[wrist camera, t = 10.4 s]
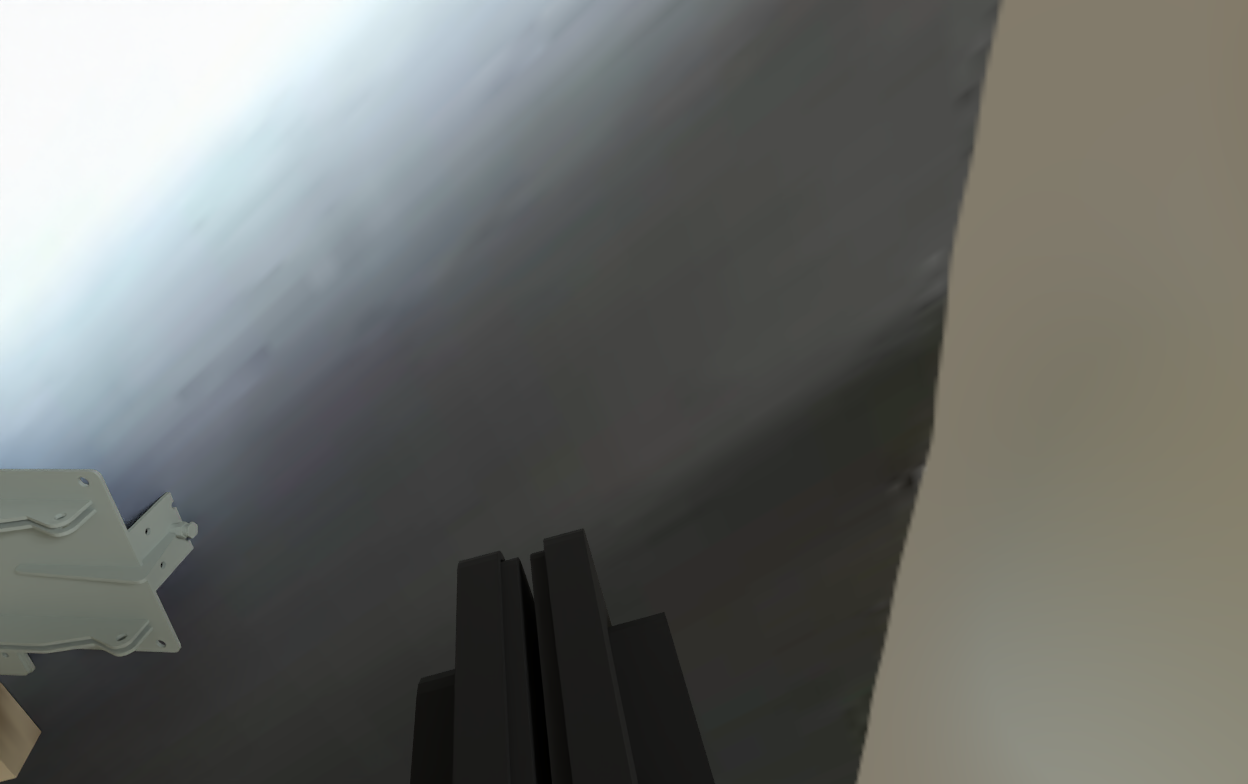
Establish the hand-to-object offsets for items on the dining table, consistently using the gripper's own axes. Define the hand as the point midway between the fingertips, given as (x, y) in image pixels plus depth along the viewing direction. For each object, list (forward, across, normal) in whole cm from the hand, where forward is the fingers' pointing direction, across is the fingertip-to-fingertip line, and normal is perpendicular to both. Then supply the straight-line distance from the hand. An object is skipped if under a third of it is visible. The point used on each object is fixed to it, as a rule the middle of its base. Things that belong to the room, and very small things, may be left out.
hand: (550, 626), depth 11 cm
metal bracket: (+30, +27, +13) cm, 42 cm away
